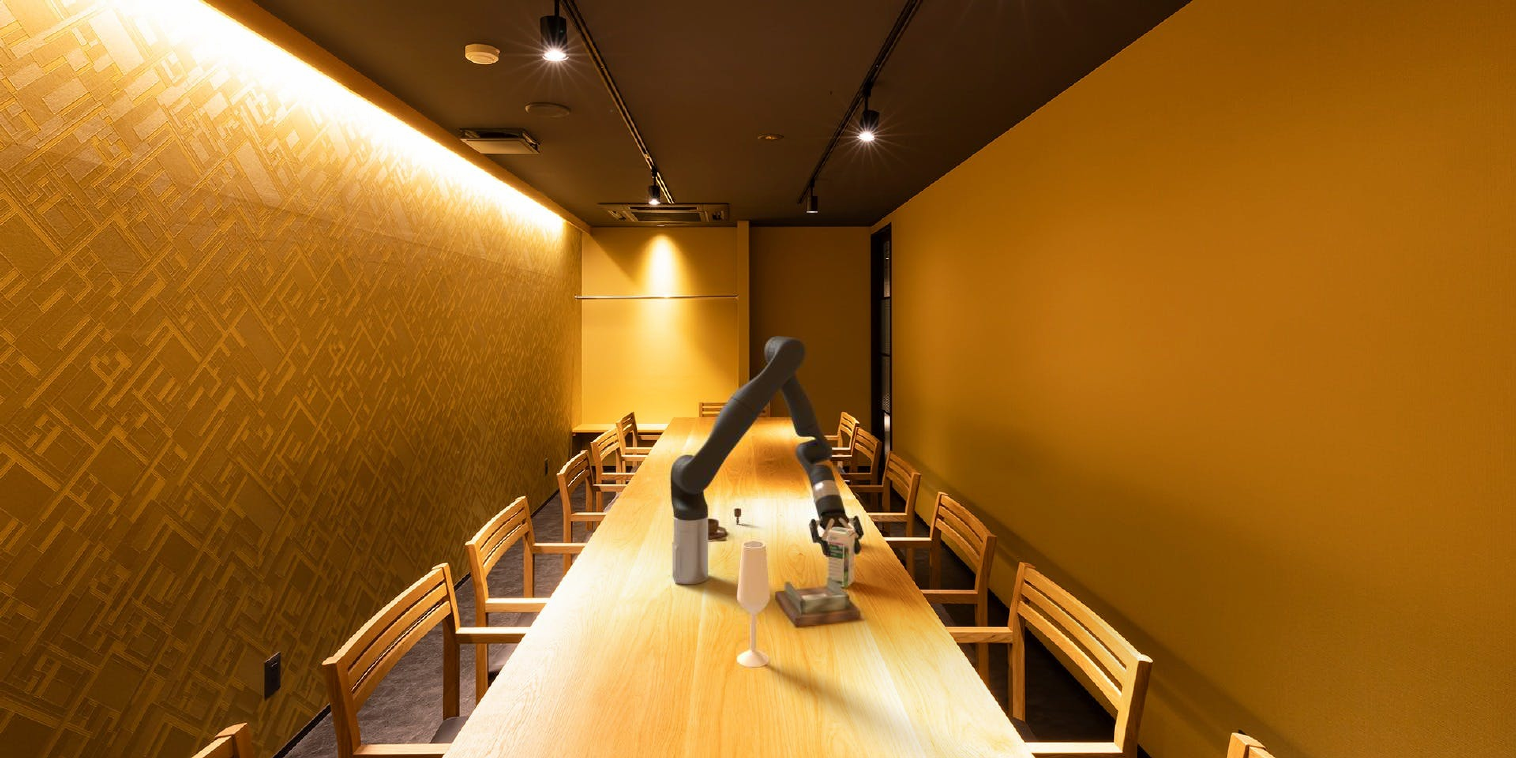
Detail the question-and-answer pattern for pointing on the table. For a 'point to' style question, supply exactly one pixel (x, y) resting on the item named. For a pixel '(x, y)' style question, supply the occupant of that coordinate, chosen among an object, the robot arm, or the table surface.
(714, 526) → the place setting
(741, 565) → the champagne flute
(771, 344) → the robot arm
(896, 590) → the table surface
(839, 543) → the syrup box
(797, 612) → the dock
